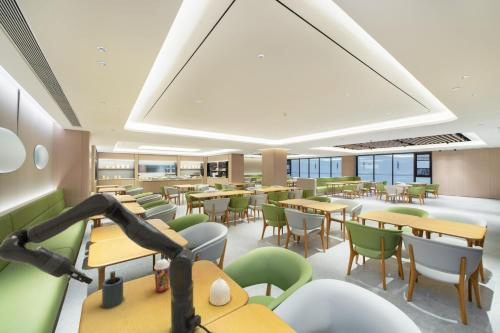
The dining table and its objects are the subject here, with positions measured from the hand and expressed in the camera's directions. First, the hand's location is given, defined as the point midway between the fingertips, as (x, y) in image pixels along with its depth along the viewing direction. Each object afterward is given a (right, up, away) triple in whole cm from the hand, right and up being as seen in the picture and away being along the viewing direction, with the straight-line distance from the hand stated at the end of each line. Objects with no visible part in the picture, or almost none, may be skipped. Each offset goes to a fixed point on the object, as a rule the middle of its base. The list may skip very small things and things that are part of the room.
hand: (87, 279), depth 100 cm
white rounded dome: (+60, -17, +13) cm, 64 cm away
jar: (+5, -17, +10) cm, 21 cm away
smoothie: (+26, -17, +21) cm, 38 cm away
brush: (+5, -17, +10) cm, 20 cm away
